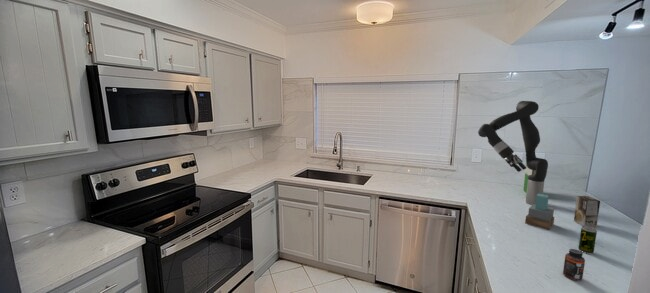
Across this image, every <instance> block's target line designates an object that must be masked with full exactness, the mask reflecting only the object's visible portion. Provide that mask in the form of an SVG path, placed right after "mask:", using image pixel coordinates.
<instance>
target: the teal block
mask: <svg viewBox="0 0 650 293" xmlns="http://www.w3.org/2000/svg"><path fill="white" fill-rule="evenodd" d="M549 197H550V195H549V194H544V193H543V194H537V197H536V205H535V209H540V210H544V211H546V210H547V207H548V206H549V204H548V203H549Z"/></svg>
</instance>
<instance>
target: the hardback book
mask: <svg viewBox="0 0 650 293" xmlns="http://www.w3.org/2000/svg"><path fill="white" fill-rule="evenodd" d="M525 166H526V169H524V170H525V171H524V172H525V173H524V181H523V182H524V183H523V192H525V194H527V184H528V176H529V175H534V174H535V173H536V171H535V170H531V169H529V168H528V167H527V164H526V163H525Z"/></svg>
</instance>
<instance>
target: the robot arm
mask: <svg viewBox="0 0 650 293" xmlns="http://www.w3.org/2000/svg"><path fill="white" fill-rule="evenodd" d="M539 106H540V105H539V104H538V103H537V102H536V101H531V100H521V101H519V102H517V104H516V106H515V108H516V109H515V111H513V112H510V113H506V114H503V115H500V116H498V117H496V118H494V119H493V120H492V121H490V123H483V124H481V126H480V128H479V129H478V131H477V134H478V136H479V137H481V138H487V142H488V144H489V145H490V146H491V147H492V148H493V149H494V151H495V152H496V153H497V154H498V156H500V157H501V158H502V159H503V160H504V161H505V162H506V163H507V164H508V165H509V166H510V167H511V168H514V169H515V170H516V171H517V172H518V173H520V172H521V171H523V170H526V164H527V167H528V168H529V169H531V170H535V171H536V173H535V174H534V175H529V176H528V184H527V193H525V194H526V195H525V203H526V204H528V205H530V206H532V205H533V204H535V205H536V197H537V194H543V195H544V189H545V180H546V178H547V174H548V168H549V163H548V160H547V159H546V158H542V157H541V158H540V157H537V156H536V149H537V148H538V146H539V145H540V142H541V136H540V131H539V129H538V127H537V126H536V124H535V123H534V122H533V121H532V119H531V118H532V117H531V116H532V115H535V114H536V113H537V112H538V111H539ZM516 121H519V124H520V129H521V133H522V139H523V143H524V150H525V164H524V163H523V160H522V159H521V157H519V156H518V155H517V154H514V153H515V151H514V150H513V149H512V148H511V147H510V145H508V143H507V142H505V141H504V140H503V139H502V138H501V137H500V136H499V134H498V133H497V131H498V130H500V129H502V128H504V127H507V126H508V125H509V124H512V123H514V122H516Z"/></svg>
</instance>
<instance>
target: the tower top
mask: <svg viewBox="0 0 650 293" xmlns="http://www.w3.org/2000/svg"><path fill="white" fill-rule="evenodd" d="M554 211H555V208H553V207H548V206H547V210H546V211H544V210H540V209H535V204H533V205H530V206H529V208H528V214H527V215H528V216H529V217H533V218H537V219H542V220H546V221H550V220H551V219H552V218H553V217H554Z"/></svg>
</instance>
